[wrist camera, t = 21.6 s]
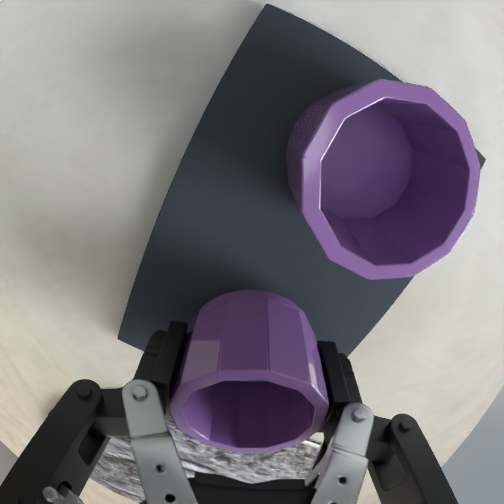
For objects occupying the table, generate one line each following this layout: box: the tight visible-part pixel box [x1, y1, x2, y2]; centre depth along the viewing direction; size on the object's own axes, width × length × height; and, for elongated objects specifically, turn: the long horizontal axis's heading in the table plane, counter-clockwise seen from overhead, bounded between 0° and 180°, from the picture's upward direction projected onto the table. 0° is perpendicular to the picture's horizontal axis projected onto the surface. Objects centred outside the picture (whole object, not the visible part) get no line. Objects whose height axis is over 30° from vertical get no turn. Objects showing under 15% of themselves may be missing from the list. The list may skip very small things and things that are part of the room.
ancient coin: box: [49, 412, 320, 503], centre depth 26 cm, size 33×35×1 cm
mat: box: [118, 4, 486, 357], centre depth 13 cm, size 18×12×1 cm, turn 153°
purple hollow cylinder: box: [286, 79, 480, 280], centre depth 9 cm, size 6×6×4 cm
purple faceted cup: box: [168, 290, 329, 452], centre depth 12 cm, size 6×6×4 cm
